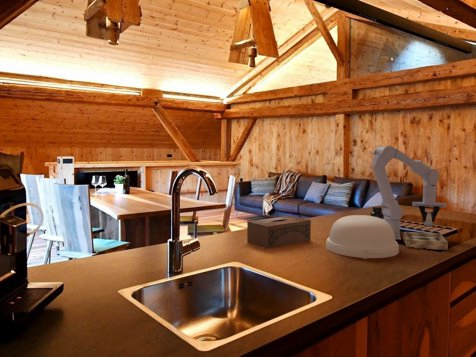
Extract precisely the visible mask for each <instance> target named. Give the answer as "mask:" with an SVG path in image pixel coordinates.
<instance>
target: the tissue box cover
mask: <svg viewBox="0 0 476 357" xmlns="http://www.w3.org/2000/svg"><path fill="white" fill-rule="evenodd" d="M311 224H312V220H311V219H307V218H302V217H299V216H298V217H297V216H294V215H293V216H292V215H286V216H278V217H269V218H262V219H253V220H247V222H246V225H247V226H246V229H247V232H246V236H247V237H246V238H247V239H246V242H247V243H248V244H252V245H255V246H258V247H260V248H263V247H264V248H263V249H266V248H267V249H268V250H269V248H270V249H274V248H279V247H284V246H289V245H295V244H302V243H306V242H311V235H312V233H311V232H312V231H311V230H312V229H311V228H312V226H311ZM267 249H266V250H267Z"/></svg>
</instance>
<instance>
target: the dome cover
mask: <svg viewBox="0 0 476 357" xmlns="http://www.w3.org/2000/svg"><path fill="white" fill-rule="evenodd" d="M325 249H327V250H328V251H329V252H331V253H334V254H337V255H341V256H346V257H352V258H353V257H354V258H359V259H360V258H361V259H383V258H390V257H394V256H396V255H399V253H400V248H399V244H398V242H397V241H396V239H395V235H394V231H393V229H392V227H391V226H390V224H389V223H388V222H386V221H385V220H383V219H380V218H377V217H373V216H370V215H366V214H365V215H364V214H362V215H361V214H355V215H354V214H353V215H346V216H343V217H340V218H338V219H337V220H336V221H334V223H333V224H332V226H331V229H330V232H329V236H328V237H327V239H326V242H325Z"/></svg>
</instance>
